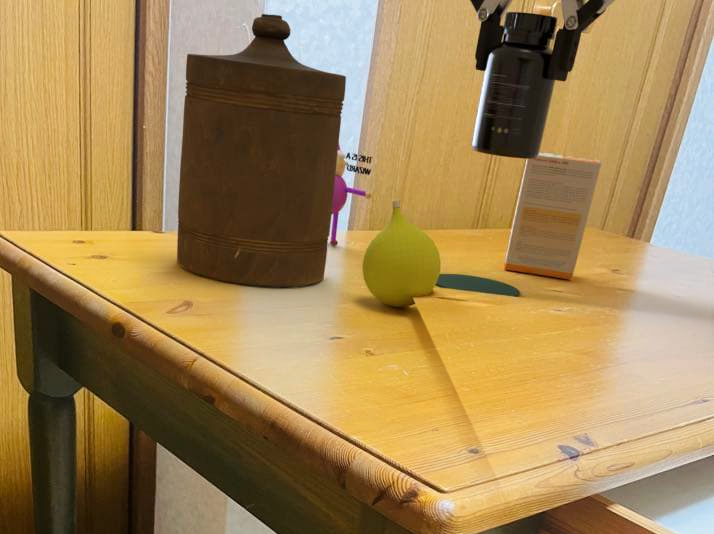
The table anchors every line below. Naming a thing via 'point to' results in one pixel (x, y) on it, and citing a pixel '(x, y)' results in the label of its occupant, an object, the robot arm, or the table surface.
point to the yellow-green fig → (401, 262)
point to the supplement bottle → (516, 88)
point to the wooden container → (258, 163)
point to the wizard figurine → (345, 188)
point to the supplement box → (551, 214)
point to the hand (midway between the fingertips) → (520, 73)
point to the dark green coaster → (476, 284)
